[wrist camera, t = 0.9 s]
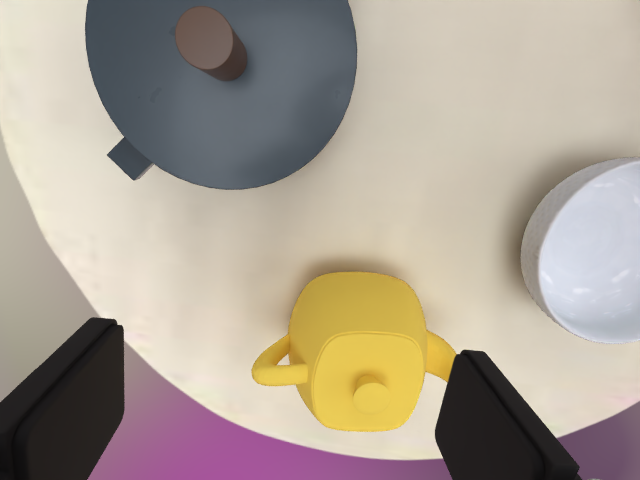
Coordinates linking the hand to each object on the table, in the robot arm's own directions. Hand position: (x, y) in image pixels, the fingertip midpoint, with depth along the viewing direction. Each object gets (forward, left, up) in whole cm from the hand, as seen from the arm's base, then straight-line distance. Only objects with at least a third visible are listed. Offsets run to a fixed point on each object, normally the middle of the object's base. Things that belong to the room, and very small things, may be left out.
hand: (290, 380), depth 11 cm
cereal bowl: (-15, +25, -27) cm, 40 cm away
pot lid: (-6, -10, -18) cm, 21 cm away
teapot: (+6, +13, -27) cm, 31 cm away
